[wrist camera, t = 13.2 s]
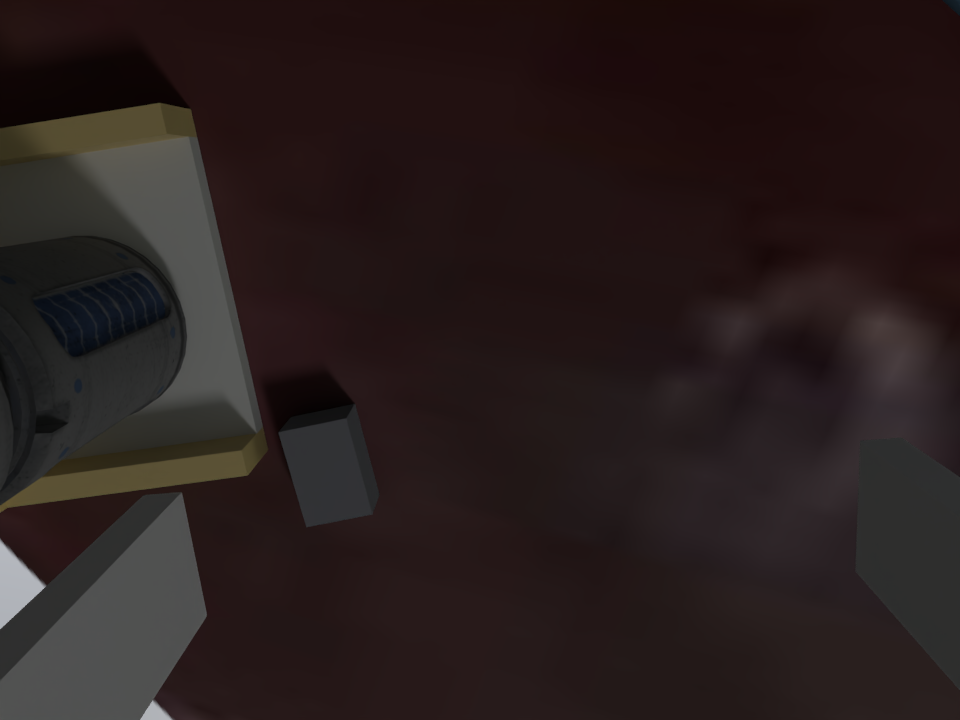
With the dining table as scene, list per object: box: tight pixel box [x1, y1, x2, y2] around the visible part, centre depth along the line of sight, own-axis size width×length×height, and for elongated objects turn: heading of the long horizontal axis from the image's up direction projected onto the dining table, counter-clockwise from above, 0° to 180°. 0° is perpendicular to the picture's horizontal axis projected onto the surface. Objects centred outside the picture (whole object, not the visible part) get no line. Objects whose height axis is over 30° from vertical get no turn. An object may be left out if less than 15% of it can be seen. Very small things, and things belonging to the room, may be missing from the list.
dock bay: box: [0, 103, 268, 512], centre depth 41 cm, size 20×16×6 cm
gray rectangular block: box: [278, 404, 379, 527], centre depth 45 cm, size 6×4×3 cm, turn 12°
